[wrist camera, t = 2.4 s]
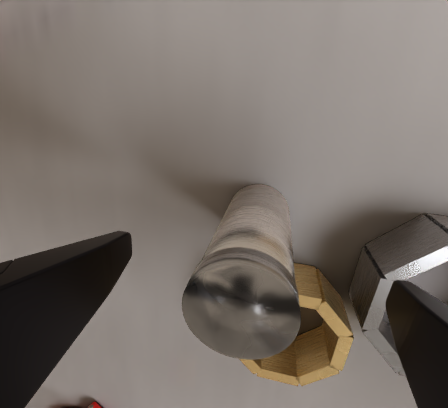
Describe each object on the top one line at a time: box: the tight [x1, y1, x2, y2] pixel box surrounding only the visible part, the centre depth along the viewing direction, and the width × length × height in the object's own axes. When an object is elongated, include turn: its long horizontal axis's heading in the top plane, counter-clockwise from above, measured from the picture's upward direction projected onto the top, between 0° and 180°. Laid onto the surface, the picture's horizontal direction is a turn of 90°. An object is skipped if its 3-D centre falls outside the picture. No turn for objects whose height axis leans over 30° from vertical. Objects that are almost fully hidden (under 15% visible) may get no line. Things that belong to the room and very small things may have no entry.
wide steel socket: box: [349, 213, 448, 376], centre depth 12 cm, size 7×7×2 cm
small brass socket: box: [240, 263, 354, 386], centre depth 14 cm, size 6×6×2 cm
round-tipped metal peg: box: [182, 184, 301, 360], centre depth 10 cm, size 3×3×7 cm
